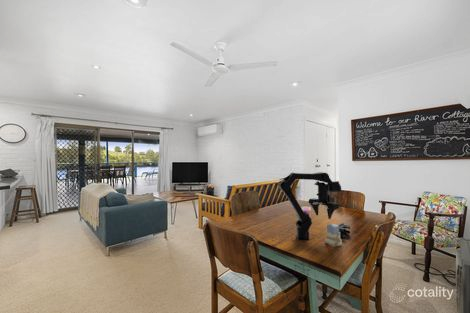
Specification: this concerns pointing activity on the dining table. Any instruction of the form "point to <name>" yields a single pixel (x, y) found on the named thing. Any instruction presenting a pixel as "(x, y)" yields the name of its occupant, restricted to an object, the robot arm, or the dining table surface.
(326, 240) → the tower base
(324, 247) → the dining table surface
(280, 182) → the robot arm
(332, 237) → the tower top
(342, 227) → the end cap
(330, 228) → the blue block
